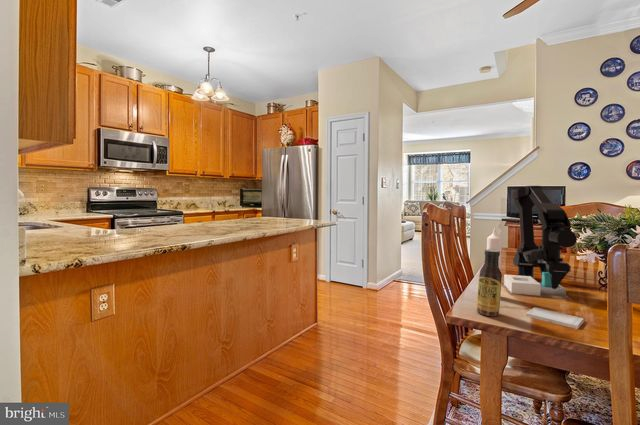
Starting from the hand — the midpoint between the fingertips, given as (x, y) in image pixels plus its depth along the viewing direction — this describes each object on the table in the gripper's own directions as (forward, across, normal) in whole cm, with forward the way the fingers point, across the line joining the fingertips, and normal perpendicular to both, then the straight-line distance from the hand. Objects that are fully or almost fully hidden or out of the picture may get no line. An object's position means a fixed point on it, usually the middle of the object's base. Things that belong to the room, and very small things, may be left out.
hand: (549, 285), depth 118 cm
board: (+4, 0, -5) cm, 6 cm away
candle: (+4, +12, -21) cm, 24 cm away
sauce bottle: (+4, +28, -24) cm, 37 cm away
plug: (+2, 0, 0) cm, 2 cm away
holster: (+2, 0, 0) cm, 2 cm away
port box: (+2, 0, -9) cm, 9 cm away
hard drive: (+4, +26, -7) cm, 27 cm away
